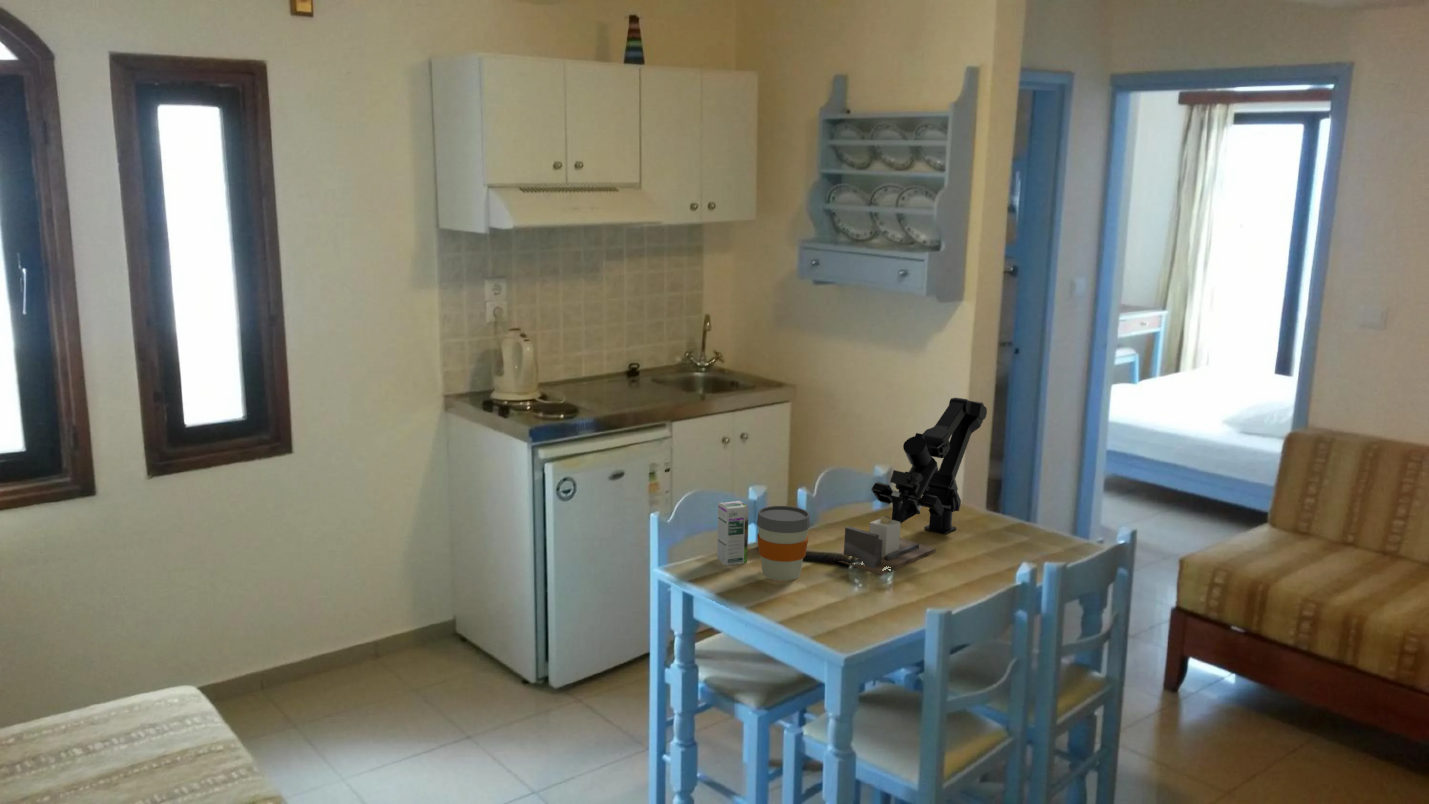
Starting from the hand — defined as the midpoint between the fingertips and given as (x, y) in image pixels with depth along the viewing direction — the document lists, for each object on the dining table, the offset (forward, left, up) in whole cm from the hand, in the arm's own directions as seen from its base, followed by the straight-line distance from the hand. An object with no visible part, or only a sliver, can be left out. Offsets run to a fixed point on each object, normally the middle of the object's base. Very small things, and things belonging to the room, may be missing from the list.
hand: (892, 526), depth 272 cm
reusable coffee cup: (+31, -10, -7) cm, 33 cm away
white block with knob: (+3, 0, -6) cm, 7 cm away
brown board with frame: (+2, 0, -7) cm, 8 cm away
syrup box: (+33, -24, -7) cm, 42 cm away
